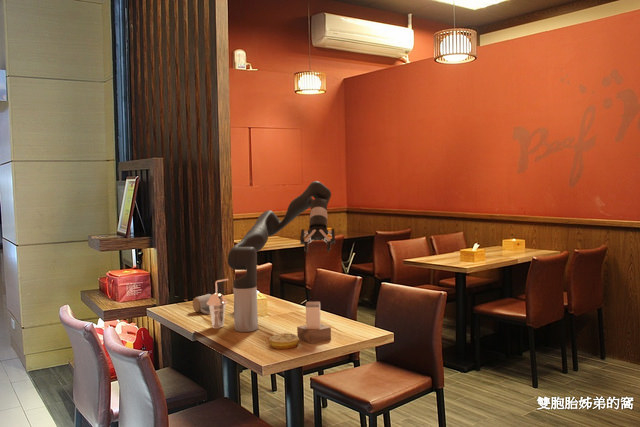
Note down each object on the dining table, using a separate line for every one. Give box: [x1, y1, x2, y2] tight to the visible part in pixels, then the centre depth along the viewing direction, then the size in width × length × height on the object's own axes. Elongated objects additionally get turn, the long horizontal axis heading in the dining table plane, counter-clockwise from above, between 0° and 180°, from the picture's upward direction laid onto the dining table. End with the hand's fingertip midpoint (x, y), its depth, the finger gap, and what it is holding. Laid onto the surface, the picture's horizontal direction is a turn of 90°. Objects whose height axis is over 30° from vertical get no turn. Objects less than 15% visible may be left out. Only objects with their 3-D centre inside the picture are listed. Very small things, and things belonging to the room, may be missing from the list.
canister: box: [305, 301, 322, 329], centre depth 215 cm, size 5×5×9 cm
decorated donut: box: [268, 332, 300, 350], centre depth 208 cm, size 10×11×4 cm
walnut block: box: [296, 323, 332, 344], centre depth 215 cm, size 9×9×4 cm
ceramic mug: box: [192, 293, 212, 315], centre depth 263 cm, size 11×8×8 cm
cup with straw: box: [207, 278, 230, 329], centre depth 236 cm, size 8×9×20 cm
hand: (317, 250), depth 231 cm, fingers open, 8 cm apart
